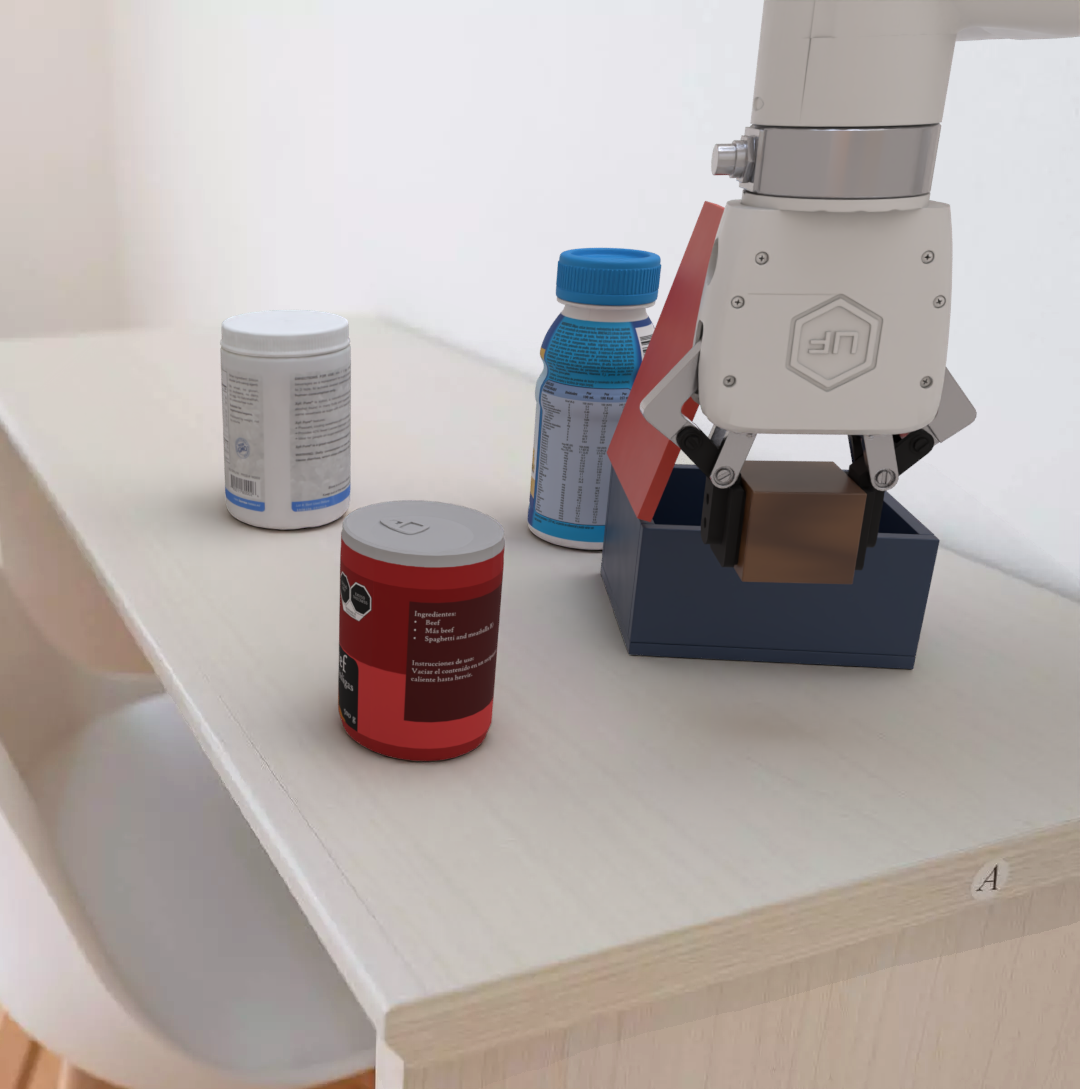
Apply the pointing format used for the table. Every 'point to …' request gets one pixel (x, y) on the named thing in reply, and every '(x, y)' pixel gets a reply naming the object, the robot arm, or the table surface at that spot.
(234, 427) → the supplement tub
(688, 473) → the storage box
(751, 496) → the block
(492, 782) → the table surface
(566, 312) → the beverage bottle
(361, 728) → the canned food
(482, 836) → the table surface
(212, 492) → the table surface
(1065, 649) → the table surface
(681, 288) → the lid
